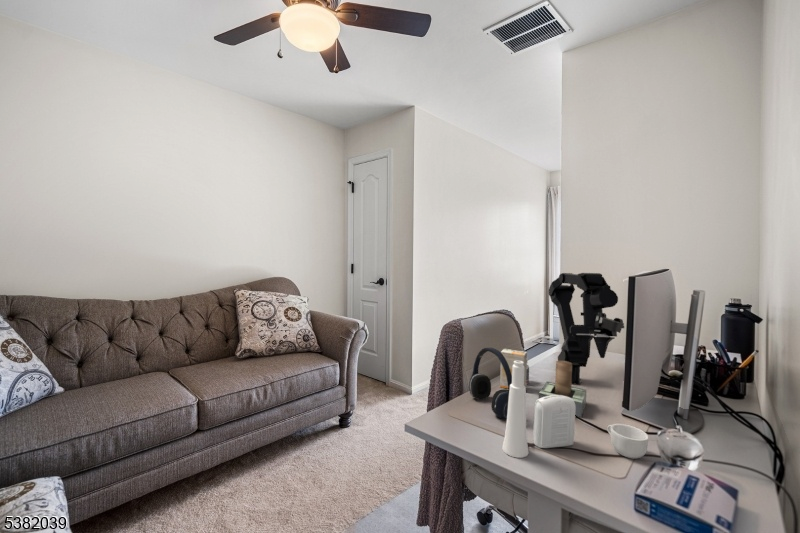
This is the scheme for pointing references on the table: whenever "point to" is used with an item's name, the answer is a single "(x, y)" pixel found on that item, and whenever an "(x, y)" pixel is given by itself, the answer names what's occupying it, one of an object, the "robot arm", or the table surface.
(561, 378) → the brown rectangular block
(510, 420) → the cosmetic bottle
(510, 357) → the supplement box
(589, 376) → the table surface
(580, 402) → the money box
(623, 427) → the teacup
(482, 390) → the headphones
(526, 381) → the pill bottle
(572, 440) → the photo printer
